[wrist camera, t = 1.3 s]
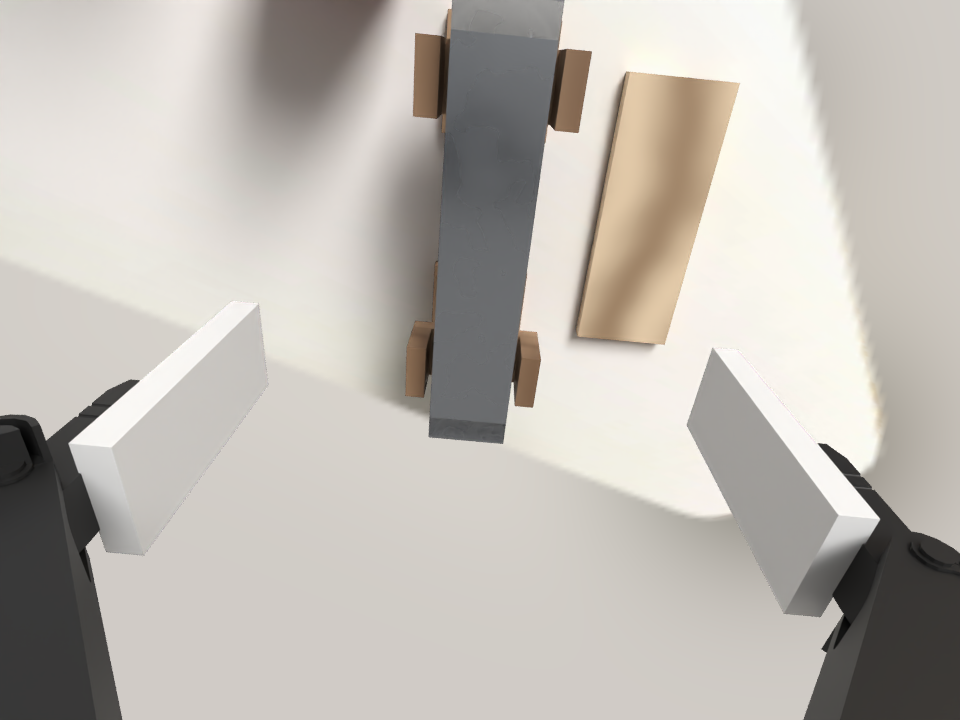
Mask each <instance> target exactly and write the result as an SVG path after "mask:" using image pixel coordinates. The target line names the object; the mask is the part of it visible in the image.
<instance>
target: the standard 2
mask: <svg viewBox="0 0 960 720" xmlns="http://www.w3.org/2000/svg"><path fill="white" fill-rule="evenodd" d="M451 16H452V9H448V20H447V39H446V38H444V37H442V36H437V35H428V34H418V33H415V64H414V101H413V116H415V117H424V118H434V119H437V118H438V117H439V116H440V115H441V114H443V117H442V133H445V127H446V108H447V90H448V71H449V53H450V35H451ZM561 26H562V21H561ZM560 34H561V28H560ZM559 41H560V36H559ZM558 48H559V43H558ZM591 54H592V51H582V50H572V49H564V50H557V57H556V64H555V72H554V79H553V86H552V93H551V101H550V108H549V115H548V122H547V127H548V125H550V126H551V127H552V128H553V129H554V130H555V131H563V132H573V133H578V132H579V126H580V120H581V114H582V108H583V102H584V96H585V90H586V84H587V78H588V72H589V66H590V60H591ZM546 134H547V129H546ZM545 142H546V137H545Z"/></svg>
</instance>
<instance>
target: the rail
mask: <svg viewBox="0 0 960 720" xmlns="http://www.w3.org/2000/svg"><path fill="white" fill-rule="evenodd" d="M563 7H564V0H452V16H451V35H450V53H449V71H448V90H447V108H446V127H445V145H444V163H443V182H442V200H441V219H440V237H439V255H438V274H437V292H436V310H435V329H434V347H433V366H432V384H431V402H430V421H429V437H432V438H444V439H455V440H466V441H477V442H488V443H499V444H503V440H504V433H505V426H506V418H507V411H508V404H509V397H510V389H511V382H512V375H513V368H514V361H515V353H516V346H517V339H518V332H519V324H520V317H521V310H522V303H523V296H524V288H525V281H526V274H527V267H528V259H529V252H530V245H531V238H532V231H533V223H534V216H535V209H536V202H537V194H538V187H539V180H540V173H541V166H542V158H543V151H544V144H545V137H546V129H547V122H548V115H549V108H550V101H551V93H552V86H553V79H554V72H555V64H556V57H557V50H558V43H559V36H560V28H561V21H562V14H563Z"/></svg>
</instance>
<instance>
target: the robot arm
mask: <svg viewBox="0 0 960 720" xmlns="http://www.w3.org/2000/svg"><path fill="white" fill-rule="evenodd" d="M267 387H268V378H267V369H266V360H265V352H264V343H263V335H262V326H261V318H260V309H259V303H249V302H239V301H231V302H230V303H229V304H228V305H227V306H226V307H224V308H223V309H222V310H221V311H220V312H219V313H218V314H216V315H215V316H214V317H213V318H212V319H211V320H210V321H208V322H207V323H206V324H205V325H204V326H203V327H202V328H200V329H199V330H198V331H197V332H196V333H195V334H193V335H192V336H191V337H190V338H189V339H188V340H187V341H185V342H184V343H183V344H182V345H181V346H180V347H179V348H177V349H176V350H175V351H174V352H173V353H172V354H171V355H169V356H168V357H167V358H166V359H165V360H164V361H163V362H161V363H160V364H159V365H158V366H157V367H156V368H154V369H153V370H152V371H151V372H150V373H149V374H148V375H146V376H145V377H144V378H143V379H142V380H141V381H140V380H128V381H126V382H124V383H122V384H120V385H118V386H116V387H113V388H111V389H109V390H107V391H106V392H105V393H104V394H102V395H101V396H100V397H99V398H98V399H96V400H95V401H94V402H93V403H92V406H88V407H87V408H86V409H84V410H83V411H82V412H81V413H79V416H78V417H74V418H73V419H72V420H71V421H70V422H68V423H67V424H66V425H65V426H64V427H62V428H61V429H60V430H59V431H58V432H56V433H55V434H54V435H53V436H51V437H50V438H49V439H48V440H47V441H46V440H45V437H44V434H43V432H42V429H41V426H40V424H39V423H38V421H37V420H36V419H35V418H32V417H29V416H26V415H5V416H0V720H122V716H121V711H120V706H119V701H118V696H117V691H116V686H115V681H114V676H113V671H112V666H111V661H110V657H109V652H108V647H107V642H106V637H105V632H104V627H103V622H102V617H101V612H100V607H99V602H98V597H97V593H96V588H95V583H94V578H93V573H92V568H91V563H90V558H89V555H88V553H87V550H86V547H85V546H86V545H87V544H88V543H89V542H90V541H91V540H92V538H93V537H94V536H95V535H96V534H97V533H98V531H99V533H100V536H101V538H102V542H103V545H104V548H105V550H106V552H112V553H122V554H133V555H145V553H146V552H147V551H148V549H149V548H150V547H151V545H152V544H153V542H154V541H155V539H156V538H157V537H158V535H159V534H160V533H161V532H162V530H163V529H164V527H165V526H166V524H167V523H168V522H169V521H170V519H171V518H172V516H173V515H174V514H175V512H176V511H177V510H178V508H179V507H180V505H181V504H182V503H183V501H184V500H185V499H186V497H187V496H188V495H189V493H190V492H191V490H192V489H193V488H194V486H195V485H196V484H197V482H198V481H199V480H200V478H201V477H202V475H203V474H204V472H205V471H206V470H207V469H208V467H209V466H210V464H211V463H212V462H213V460H214V459H215V458H216V456H217V455H218V454H219V452H220V451H221V449H222V448H223V447H224V445H225V444H226V443H227V441H228V440H229V438H230V437H231V436H232V434H233V433H234V432H235V430H236V429H237V428H238V426H239V425H240V423H241V422H242V421H243V419H244V418H245V417H246V415H247V414H248V412H249V411H250V410H251V408H252V407H253V406H254V404H255V403H256V402H257V400H258V399H259V397H260V396H261V395H262V393H263V392H264V391H265V389H266V388H267ZM687 427H688V429H689V431H690V432H691V434H692V436H693V438H694V440H695V442H696V444H697V446H698V448H699V450H700V452H701V454H702V456H703V458H704V460H705V462H706V464H707V465H708V467H709V469H710V471H711V473H712V475H713V477H714V479H715V481H716V483H717V485H718V487H719V489H720V491H721V493H722V495H723V497H724V499H725V500H726V502H727V504H728V506H729V508H730V510H731V512H732V514H733V516H734V518H735V520H736V522H737V524H738V526H739V528H740V530H741V531H742V533H743V535H744V537H745V539H746V541H747V543H748V545H749V547H750V549H751V551H752V553H753V555H754V557H755V559H756V561H757V562H758V564H759V566H760V568H761V570H762V572H763V574H764V576H765V578H766V580H767V582H768V584H769V586H770V588H771V590H772V592H773V594H774V596H775V598H776V599H777V601H778V603H779V605H780V607H781V609H782V611H783V613H784V614H792V615H803V616H815V617H821V616H822V614H823V612H824V611H825V609H826V607H827V606H828V604H829V603H830V601H831V599H832V598H833V597H834V599H835V601H836V602H837V604H838V605H839V607H840V609H841V610H842V612H843V613H844V614H843V616H842V617H841V619H840V621H839V622H838V624H837V625H836V627H835V628H834V630H833V632H832V633H831V635H830V637H829V638H828V639H827V641H826V643H825V644H824V646H823V648H822V650H823V651H825V652H827V654H826V657H825V660H824V662H823V665H822V668H821V671H820V674H819V677H818V679H817V682H816V685H815V688H814V691H813V694H812V697H811V700H810V703H809V705H808V709H807V711H806V714H805V717H804V720H960V553H958V552H957V551H956V550H955V549H954V548H952V547H950V546H948V545H947V544H945V543H943V542H941V541H940V540H938V539H935V538H933V537H930V536H927V535H924V534H922V533H917V532H911V531H910V530H909V529H908V528H907V526H906V525H905V524H904V523H903V522H902V521H901V520H900V519H899V517H898V516H897V515H896V514H895V513H894V512H893V511H892V509H891V508H890V507H889V506H888V505H887V504H886V503H885V502H884V501H883V499H882V498H881V497H880V496H879V495H878V494H877V492H876V491H875V490H872V487H871V486H870V484H869V483H868V482H867V481H866V480H865V479H864V478H863V477H860V473H859V472H858V471H857V470H856V468H855V467H854V466H853V465H852V464H851V463H850V462H849V460H848V459H847V458H845V457H844V456H842V455H841V454H840V453H838V452H837V451H835V450H834V449H833V448H831V447H830V446H828V445H827V444H820V443H816V442H815V440H814V439H813V438H812V437H811V436H810V434H809V433H808V432H807V431H806V430H805V428H804V427H803V426H802V425H801V424H800V422H799V421H798V420H797V419H796V418H795V416H794V415H793V414H792V413H791V412H790V410H789V409H788V408H787V407H786V406H785V404H784V403H783V402H782V401H781V400H780V398H779V397H778V396H777V395H776V394H775V392H774V391H773V390H772V389H771V388H770V386H769V385H768V384H767V383H766V382H765V380H764V379H763V378H762V377H761V376H760V374H759V373H758V372H757V371H756V370H755V369H754V367H753V366H752V365H751V364H750V363H749V361H748V360H747V359H746V358H745V357H744V355H743V354H742V353H741V352H740V351H739V350H735V349H724V348H714V347H713V348H712V351H711V354H710V357H709V360H708V363H707V366H706V369H705V372H704V375H703V378H702V381H701V384H700V387H699V390H698V393H697V396H696V399H695V402H694V405H693V408H692V411H691V414H690V417H689V420H688V423H687Z"/></svg>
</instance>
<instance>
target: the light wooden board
mask: <svg viewBox="0 0 960 720" xmlns="http://www.w3.org/2000/svg"><path fill="white" fill-rule="evenodd" d="M739 85H740V83H733V82H723V81H713V80H704V79H694V78H684V77H675V76H665V75H655V74H646V73H636V72H626V76H625V81H624V86H623V91H622V96H621V101H620V106H619V112H618V117H617V122H616V127H615V132H614V137H613V142H612V147H611V153H610V158H609V163H608V168H607V173H606V178H605V183H604V188H603V193H602V199H601V204H600V209H599V214H598V219H597V224H596V229H595V234H594V240H593V245H592V250H591V255H590V260H589V265H588V270H587V275H586V280H585V286H584V291H583V296H582V301H581V306H580V311H579V316H578V321H577V327H576V333H577V336H578V337H588V338H599V339H610V340H620V341H631V342H642V343H652V344H663V345H665V341H666V338H667V334H668V331H669V327H670V324H671V321H672V317H673V314H674V310H675V307H676V303H677V300H678V296H679V293H680V289H681V286H682V282H683V279H684V275H685V272H686V268H687V265H688V262H689V258H690V255H691V251H692V248H693V244H694V241H695V237H696V234H697V230H698V227H699V223H700V220H701V216H702V213H703V210H704V206H705V203H706V199H707V196H708V192H709V189H710V185H711V182H712V178H713V175H714V171H715V168H716V164H717V161H718V157H719V154H720V151H721V147H722V144H723V140H724V137H725V133H726V130H727V126H728V123H729V119H730V116H731V112H732V109H733V105H734V102H735V98H736V95H737V92H738V88H739Z"/></svg>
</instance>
